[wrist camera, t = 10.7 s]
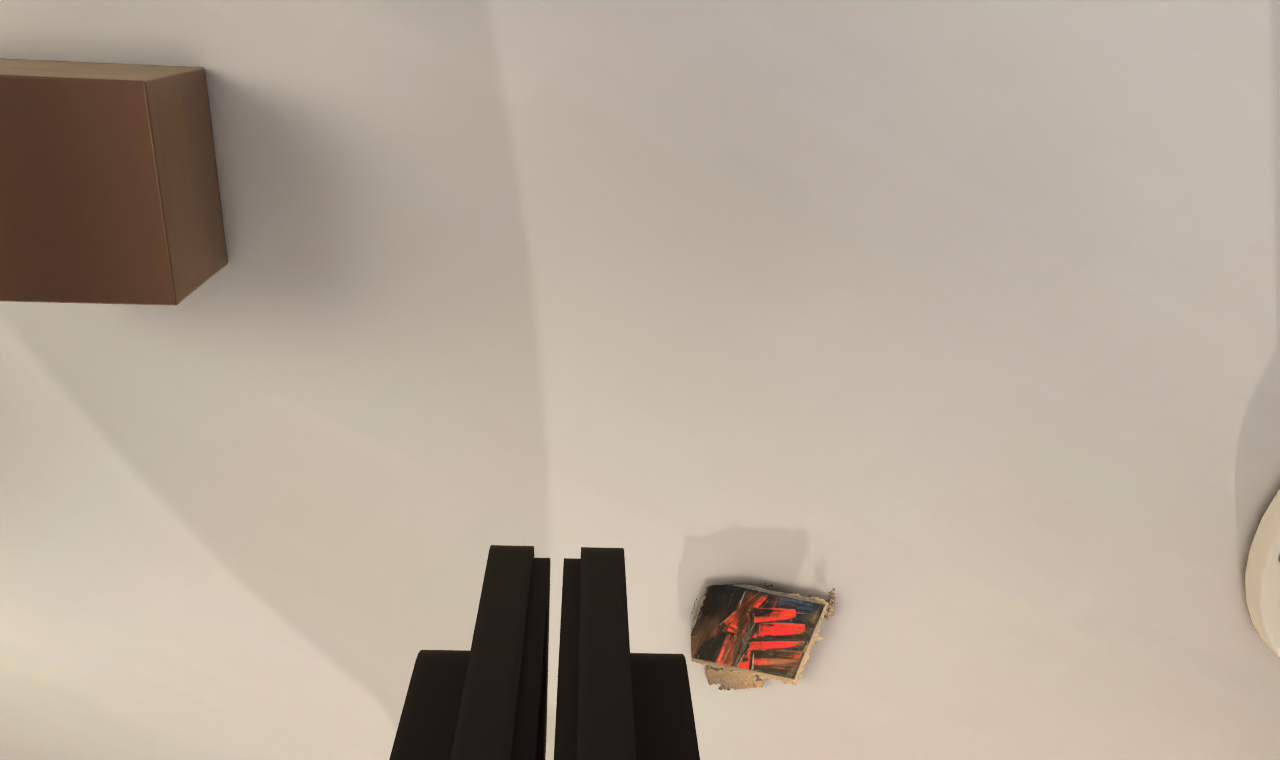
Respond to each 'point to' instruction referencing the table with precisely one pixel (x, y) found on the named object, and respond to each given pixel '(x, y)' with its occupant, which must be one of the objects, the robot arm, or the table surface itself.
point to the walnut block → (106, 183)
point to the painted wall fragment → (755, 634)
